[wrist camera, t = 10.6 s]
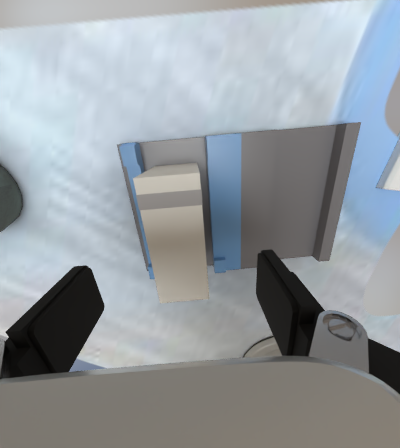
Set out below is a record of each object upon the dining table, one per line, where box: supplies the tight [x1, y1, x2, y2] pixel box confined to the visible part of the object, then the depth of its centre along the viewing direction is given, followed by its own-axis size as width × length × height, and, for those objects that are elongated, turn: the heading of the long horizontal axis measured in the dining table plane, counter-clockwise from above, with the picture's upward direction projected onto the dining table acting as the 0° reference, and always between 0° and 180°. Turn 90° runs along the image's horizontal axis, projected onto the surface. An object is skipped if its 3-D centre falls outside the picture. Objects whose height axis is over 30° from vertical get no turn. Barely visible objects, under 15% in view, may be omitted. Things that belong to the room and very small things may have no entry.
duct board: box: [117, 122, 361, 279], centre depth 19 cm, size 14×22×3 cm, turn 95°
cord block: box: [133, 163, 209, 303], centre depth 16 cm, size 10×4×7 cm, turn 4°
